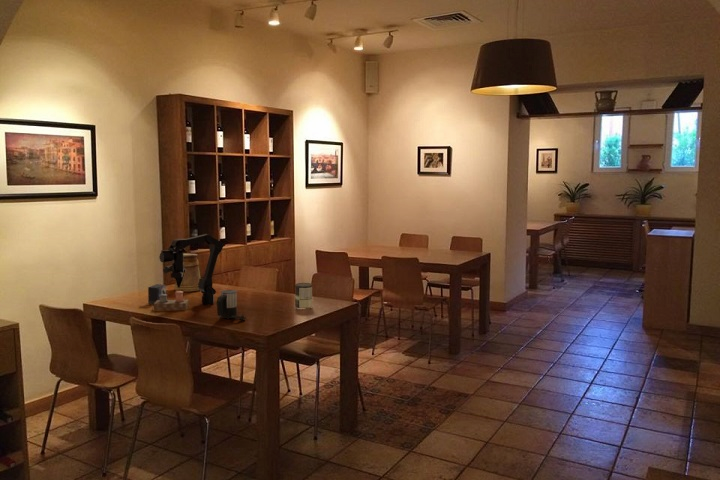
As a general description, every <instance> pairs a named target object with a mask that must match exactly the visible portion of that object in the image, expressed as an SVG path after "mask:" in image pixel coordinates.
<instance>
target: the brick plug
mask: <svg viewBox="0 0 720 480" xmlns="http://www.w3.org/2000/svg"><path fill="white" fill-rule="evenodd" d="M174 294H175V300H176V303H181V302H183V300H184V297H183V296H184V295H183V294H184V292H183V291H176V290H175V292H174Z"/></svg>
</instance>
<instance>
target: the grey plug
mask: <svg viewBox="0 0 720 480" xmlns="http://www.w3.org/2000/svg"><path fill="white" fill-rule="evenodd" d="M159 297H160V303H167V300H168V294H167V293H166V294H160V295H159Z"/></svg>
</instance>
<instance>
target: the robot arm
mask: <svg viewBox="0 0 720 480" xmlns="http://www.w3.org/2000/svg"><path fill="white" fill-rule="evenodd" d="M204 242H205V243H206V244H208V247H209V248H208V249H209V257H208V259H207V263H206V267H205V270H204V275H203V277H202V278H201V277H200V279H199V283H198V288H199V290H198V291H200V293H201V294H202V296H201V303H202V305H214V304H215V294H216V293H217V290H216V289H214V287H213V285H214V284H213V275H214V271H215V268H216V264H217V260H218V257H219V255H220V254H221V252H222V251H223V248H224V243H223V241H221V240H218V239H216V238H215V237H213V236H212V235H210V234H207V233H203V234H201V235H196V236H193V237H188V238H174V239H173V240H172V241H171V244H170V246H169V247H168V248H167V249H166V250H164V249H162V250H160V254H159V257H158V258H159V261H160V262H161V263H168V262H169V263H170V262H172V263H171V265H165V266H164V267H163V268H162V271H163V273H164V274H168V273H170V272H171V273H170V279H171V278H174V279H175V283H176V282H177V286H178V287H180V285H181V283H182V280H183V278H184V275H185V274H183V273H182V272H184V273H186V269H185V268H184V261H183V253H184V254H188V251H187V250H186V248H188V247H189V246H192V245H196V244H199V243H204Z"/></svg>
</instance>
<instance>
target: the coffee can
mask: <svg viewBox="0 0 720 480" xmlns="http://www.w3.org/2000/svg"><path fill="white" fill-rule="evenodd" d="M294 288H295V289H294V291H295V295H294V299H295V300H294V302H295V303H294V305H295V306H294V308H295V307H296V308H311V307H312V308H313V283H309V282H298V283H295V284H294ZM296 308H295V309H296ZM312 308H311V309H312Z"/></svg>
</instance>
